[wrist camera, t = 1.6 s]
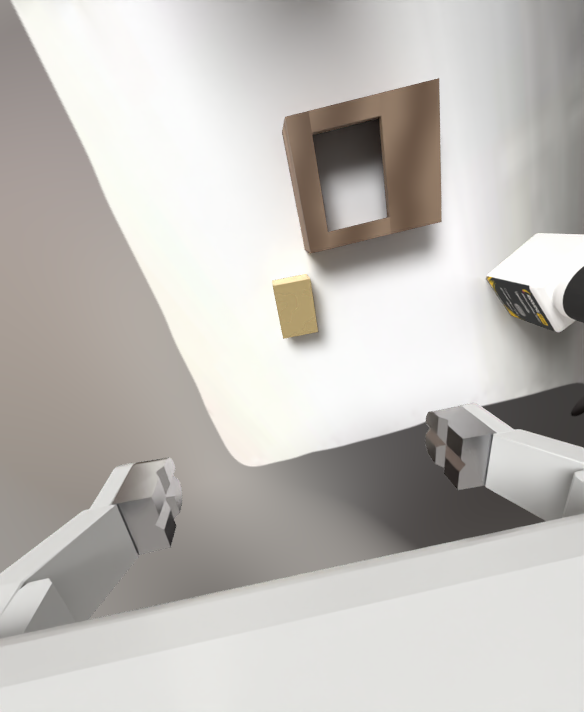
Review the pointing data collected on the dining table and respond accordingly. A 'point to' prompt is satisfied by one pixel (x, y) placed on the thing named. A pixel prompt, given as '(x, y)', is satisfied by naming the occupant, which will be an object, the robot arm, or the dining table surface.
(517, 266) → the medicine bottle
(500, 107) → the dining table surface
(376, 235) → the brown wooden frame
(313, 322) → the brushed brass pillar
